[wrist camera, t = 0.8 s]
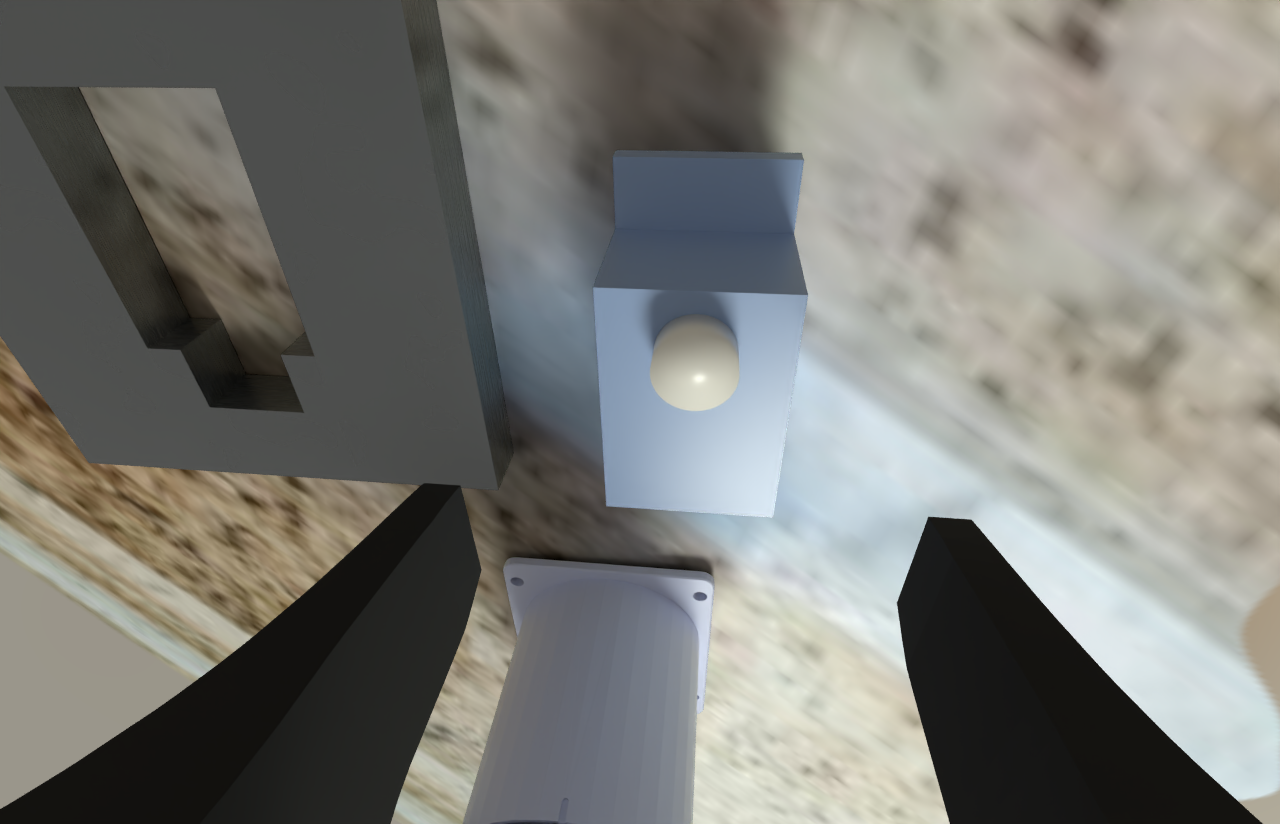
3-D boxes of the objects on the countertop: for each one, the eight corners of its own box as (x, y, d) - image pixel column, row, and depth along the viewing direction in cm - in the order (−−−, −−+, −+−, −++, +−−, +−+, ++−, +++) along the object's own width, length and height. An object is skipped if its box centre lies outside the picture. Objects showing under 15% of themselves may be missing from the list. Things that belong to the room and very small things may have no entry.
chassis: (513, 452, 21) (498, 490, 20) (129, 429, 23) (88, 462, 21) (400, -207, 12) (355, -226, 10) (-252, -182, 13) (-371, -195, 12)
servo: (756, 432, 20) (766, 596, 15) (634, 425, 20) (604, 584, 15) (793, 129, 15) (827, 228, 10) (628, 127, 15) (579, 221, 10)
